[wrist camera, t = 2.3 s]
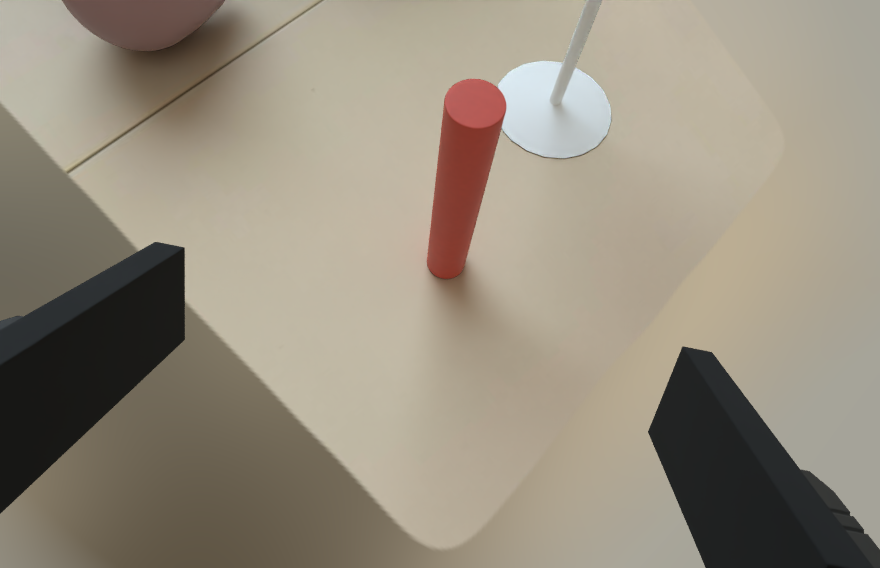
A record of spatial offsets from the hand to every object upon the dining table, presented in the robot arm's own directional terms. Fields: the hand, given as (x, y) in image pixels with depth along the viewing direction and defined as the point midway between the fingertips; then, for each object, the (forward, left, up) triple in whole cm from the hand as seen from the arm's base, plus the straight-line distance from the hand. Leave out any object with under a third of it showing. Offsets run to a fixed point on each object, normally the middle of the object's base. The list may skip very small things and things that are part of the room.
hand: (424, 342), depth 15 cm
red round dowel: (+3, -10, -18) cm, 21 cm away
